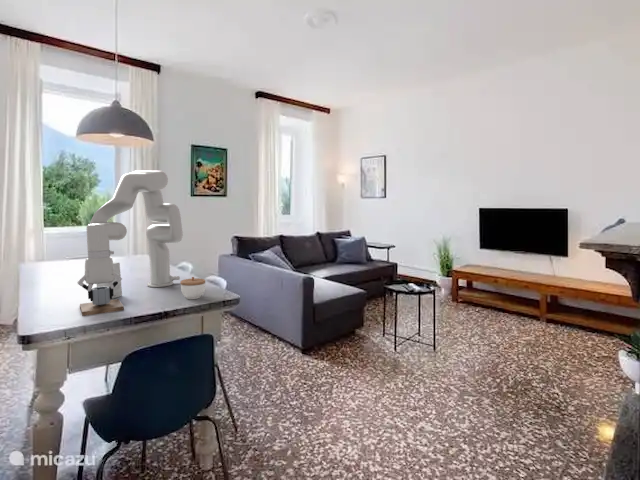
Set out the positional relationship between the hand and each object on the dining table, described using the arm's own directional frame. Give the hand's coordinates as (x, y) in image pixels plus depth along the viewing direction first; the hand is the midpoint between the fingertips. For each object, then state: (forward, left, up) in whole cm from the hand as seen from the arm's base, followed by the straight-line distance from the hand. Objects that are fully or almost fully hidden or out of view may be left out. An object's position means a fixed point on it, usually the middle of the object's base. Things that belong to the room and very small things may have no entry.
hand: (101, 298), depth 151 cm
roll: (0, 0, -2) cm, 2 cm away
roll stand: (0, 0, -4) cm, 4 cm away
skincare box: (-5, -20, -4) cm, 21 cm away
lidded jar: (-36, +2, -4) cm, 36 cm away
